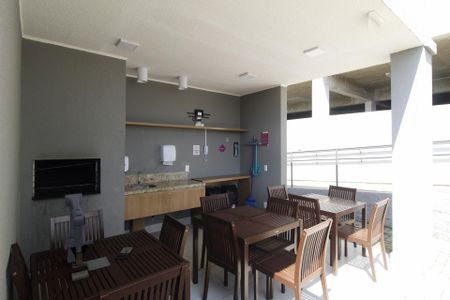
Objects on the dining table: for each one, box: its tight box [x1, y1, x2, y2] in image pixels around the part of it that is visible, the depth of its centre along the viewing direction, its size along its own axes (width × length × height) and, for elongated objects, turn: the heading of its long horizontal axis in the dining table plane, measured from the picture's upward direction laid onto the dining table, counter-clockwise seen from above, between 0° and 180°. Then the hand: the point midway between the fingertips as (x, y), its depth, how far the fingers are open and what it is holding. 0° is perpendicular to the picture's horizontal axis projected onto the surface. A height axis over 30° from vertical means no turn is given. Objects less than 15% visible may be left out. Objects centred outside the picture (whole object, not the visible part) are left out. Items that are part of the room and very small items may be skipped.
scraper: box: [71, 250, 87, 269], centre depth 146 cm, size 4×7×8 cm, turn 126°
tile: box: [71, 269, 90, 282], centre depth 143 cm, size 2×8×7 cm
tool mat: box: [86, 256, 111, 272], centre depth 158 cm, size 14×12×1 cm
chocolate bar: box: [113, 246, 135, 261], centre depth 173 cm, size 9×1×18 cm
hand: (79, 258), depth 146 cm, fingers closed on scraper, 3 cm apart
